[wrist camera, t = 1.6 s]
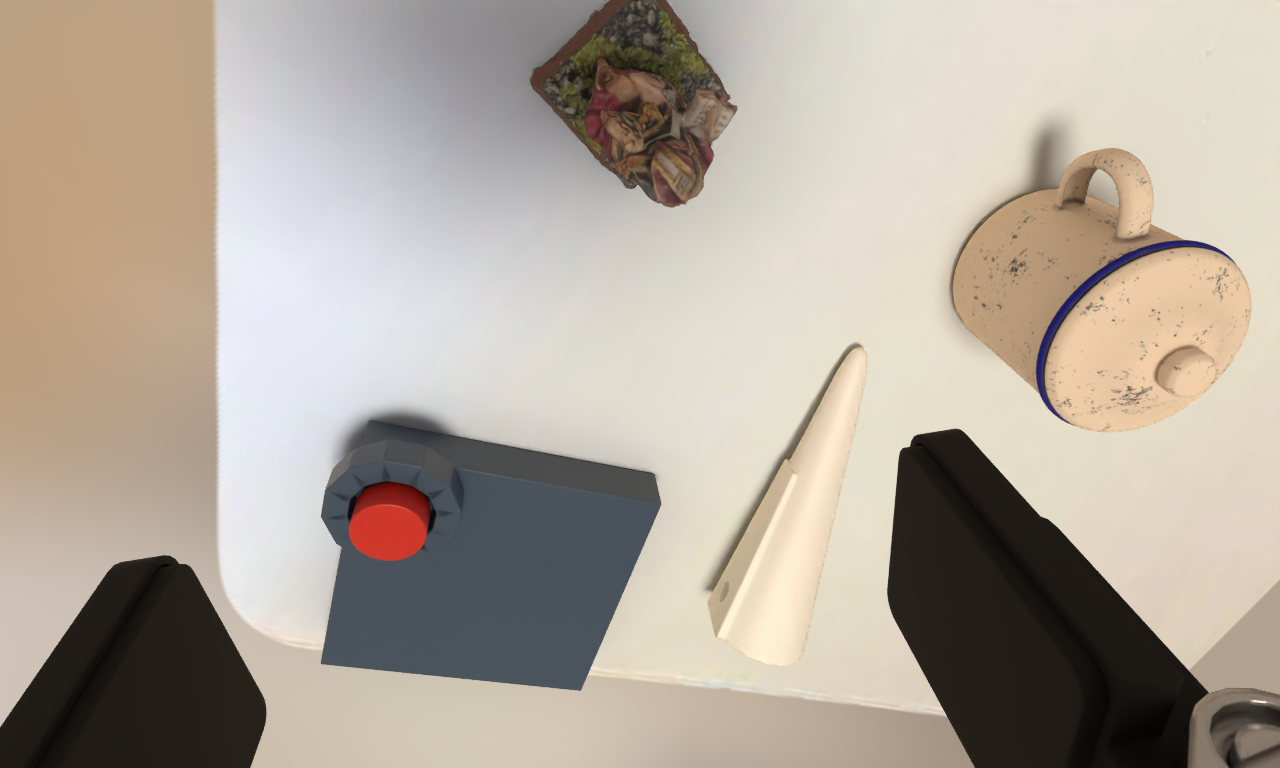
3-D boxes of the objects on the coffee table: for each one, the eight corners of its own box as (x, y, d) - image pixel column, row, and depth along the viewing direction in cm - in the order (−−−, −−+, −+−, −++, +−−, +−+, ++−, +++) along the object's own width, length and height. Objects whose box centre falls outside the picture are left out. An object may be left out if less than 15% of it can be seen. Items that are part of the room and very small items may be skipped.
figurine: (625, 191, 35) (666, 303, 25) (525, 78, 32) (525, 153, 21) (734, 95, 33) (826, 173, 23) (640, -34, 30) (699, -10, 20)
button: (350, 530, 38) (343, 555, 36) (361, 475, 36) (353, 498, 35) (423, 541, 39) (419, 565, 37) (437, 488, 37) (433, 511, 35)
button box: (312, 626, 46) (293, 688, 42) (350, 399, 38) (331, 451, 35) (578, 656, 51) (582, 716, 47) (660, 459, 43) (673, 511, 39)
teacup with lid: (1100, 322, 42) (1277, 443, 32) (942, 359, 42) (1071, 492, 32) (1135, 102, 36) (1369, 168, 26) (949, 145, 35) (1112, 228, 26)
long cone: (929, 360, 44) (790, 612, 51) (832, 326, 43) (703, 589, 49) (976, 401, 39) (814, 676, 45) (868, 363, 37) (717, 652, 44)
